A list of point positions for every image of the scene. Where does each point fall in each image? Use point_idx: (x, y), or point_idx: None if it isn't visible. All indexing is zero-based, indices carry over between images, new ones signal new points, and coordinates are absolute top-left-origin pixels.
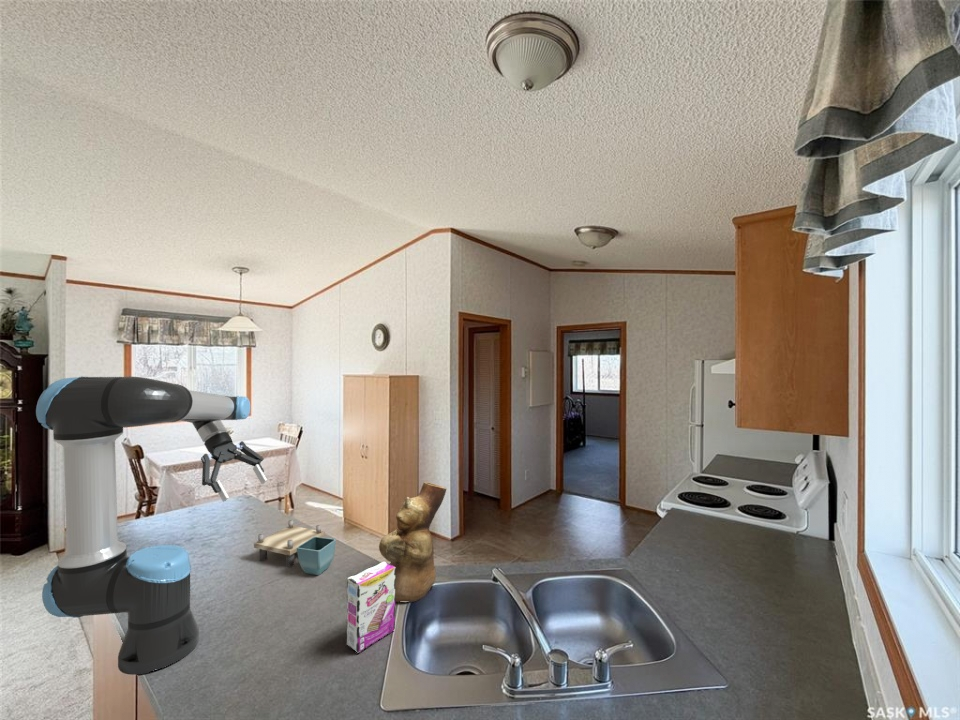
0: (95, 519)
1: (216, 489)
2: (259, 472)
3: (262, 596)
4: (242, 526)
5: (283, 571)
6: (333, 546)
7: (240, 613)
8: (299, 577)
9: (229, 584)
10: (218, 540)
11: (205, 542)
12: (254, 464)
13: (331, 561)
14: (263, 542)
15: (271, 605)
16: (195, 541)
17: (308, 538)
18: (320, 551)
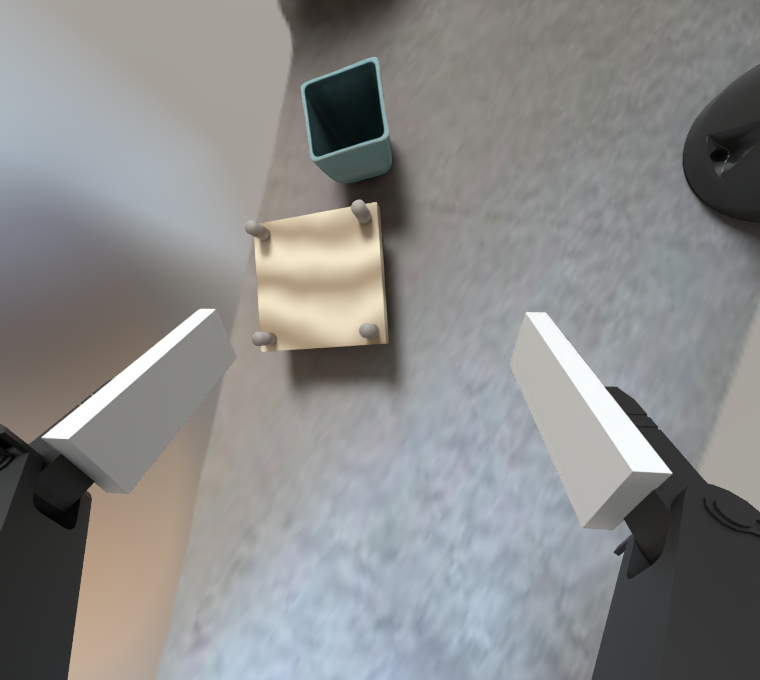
0: None
1: (633, 407)
2: (160, 375)
3: (502, 166)
4: (277, 552)
5: (401, 228)
6: (319, 93)
7: (576, 141)
8: (404, 169)
9: (500, 289)
10: (358, 538)
11: (380, 562)
12: (58, 505)
13: (337, 131)
14: (370, 322)
15: (520, 112)
16: (388, 596)
17: (301, 227)
18: (371, 60)
